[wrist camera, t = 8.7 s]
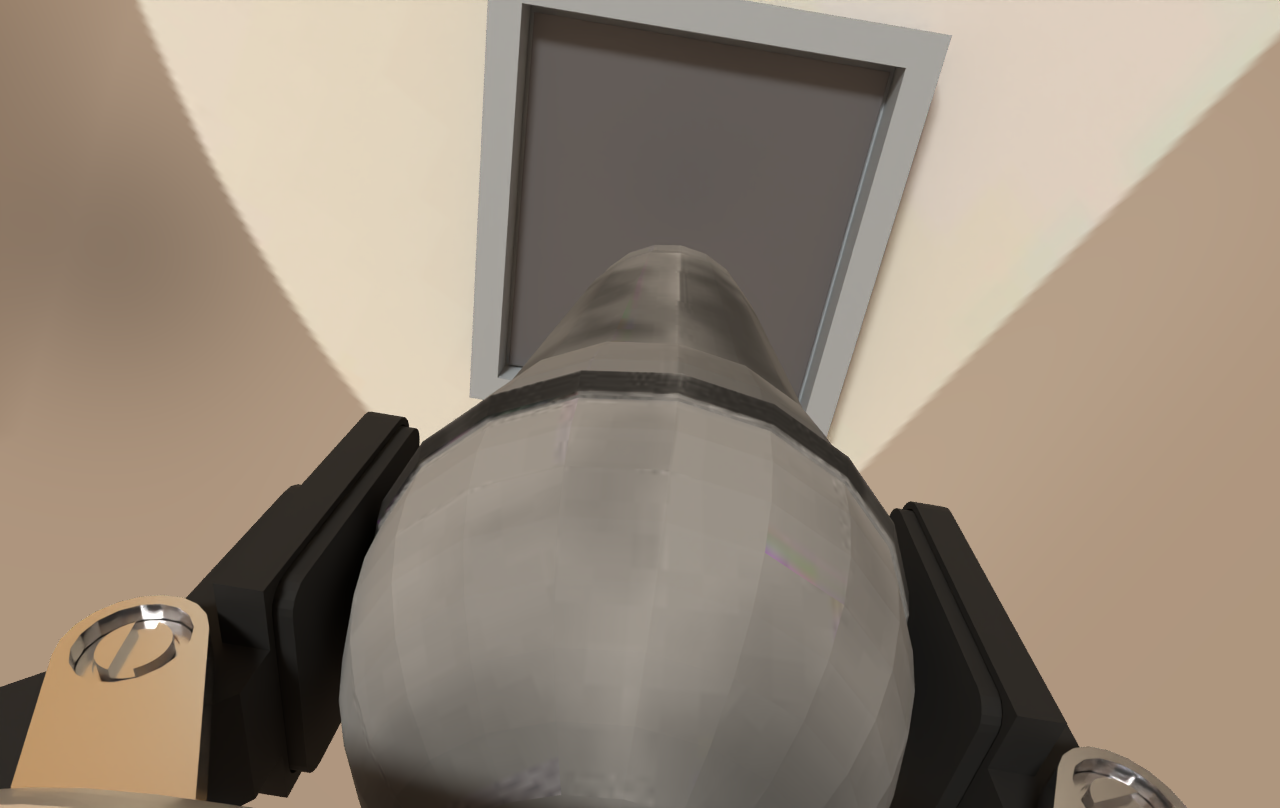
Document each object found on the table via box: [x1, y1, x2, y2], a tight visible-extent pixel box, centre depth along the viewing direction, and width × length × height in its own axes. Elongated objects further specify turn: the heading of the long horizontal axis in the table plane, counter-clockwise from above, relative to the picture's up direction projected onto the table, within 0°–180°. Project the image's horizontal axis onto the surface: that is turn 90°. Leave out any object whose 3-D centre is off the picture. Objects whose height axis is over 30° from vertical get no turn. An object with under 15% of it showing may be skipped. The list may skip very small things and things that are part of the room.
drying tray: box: [470, 0, 952, 438], centre depth 29 cm, size 16×17×2 cm
